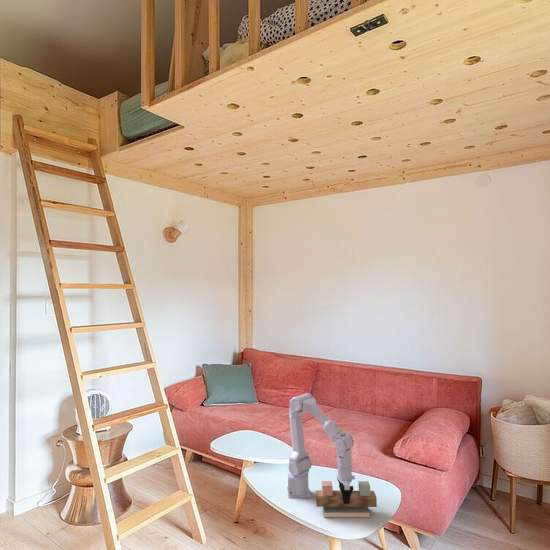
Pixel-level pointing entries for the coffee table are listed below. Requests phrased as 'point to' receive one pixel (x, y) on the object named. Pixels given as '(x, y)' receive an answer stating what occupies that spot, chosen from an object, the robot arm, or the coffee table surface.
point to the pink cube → (327, 488)
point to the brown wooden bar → (338, 500)
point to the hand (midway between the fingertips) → (345, 499)
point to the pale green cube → (364, 488)
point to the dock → (346, 512)
